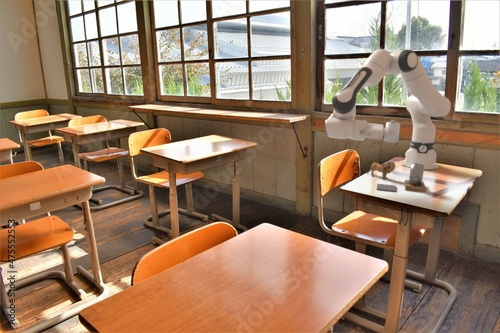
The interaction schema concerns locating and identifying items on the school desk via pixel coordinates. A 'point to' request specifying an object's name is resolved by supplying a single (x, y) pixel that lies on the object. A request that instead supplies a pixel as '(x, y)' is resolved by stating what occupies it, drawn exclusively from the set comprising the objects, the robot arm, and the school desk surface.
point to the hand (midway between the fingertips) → (394, 132)
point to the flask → (416, 174)
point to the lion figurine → (383, 168)
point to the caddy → (414, 187)
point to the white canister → (392, 127)
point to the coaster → (386, 187)
